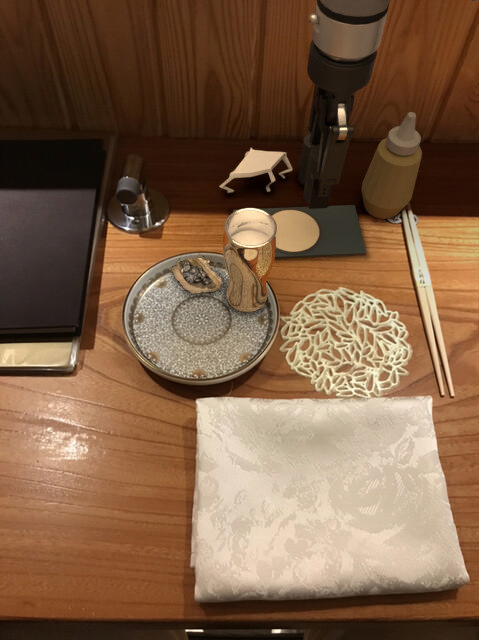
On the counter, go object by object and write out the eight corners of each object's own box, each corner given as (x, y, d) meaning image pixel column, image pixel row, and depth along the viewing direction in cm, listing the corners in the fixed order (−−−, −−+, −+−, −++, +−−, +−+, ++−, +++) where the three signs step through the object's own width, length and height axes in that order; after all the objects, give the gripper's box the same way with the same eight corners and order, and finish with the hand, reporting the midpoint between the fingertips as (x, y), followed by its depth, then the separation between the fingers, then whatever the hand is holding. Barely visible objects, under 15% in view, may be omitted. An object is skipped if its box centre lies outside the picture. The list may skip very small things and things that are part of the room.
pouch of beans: (189, 249, 87) (188, 241, 86) (233, 271, 85) (233, 264, 83) (163, 279, 84) (162, 271, 82) (208, 303, 82) (208, 295, 80)
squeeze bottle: (411, 198, 94) (447, 106, 79) (398, 231, 90) (433, 141, 75) (365, 182, 95) (391, 90, 80) (350, 215, 92) (374, 123, 76)
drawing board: (354, 207, 92) (355, 204, 92) (365, 255, 87) (366, 252, 87) (233, 212, 91) (233, 208, 91) (237, 260, 86) (237, 257, 86)
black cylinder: (328, 185, 84) (337, 142, 77) (332, 205, 82) (342, 163, 75) (301, 186, 84) (308, 143, 77) (305, 206, 81) (312, 164, 75)
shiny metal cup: (213, 292, 83) (211, 223, 70) (249, 268, 85) (253, 198, 73) (244, 323, 80) (247, 257, 67) (280, 297, 83) (290, 230, 70)
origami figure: (258, 154, 99) (259, 131, 94) (293, 179, 96) (296, 156, 91) (208, 189, 94) (207, 166, 90) (244, 215, 91) (244, 194, 87)
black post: (320, 170, 97) (327, 132, 90) (322, 186, 95) (330, 149, 88) (297, 170, 97) (302, 132, 90) (299, 186, 95) (304, 149, 88)
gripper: (301, 2, 67) (283, 155, 87) (322, 93, 58) (297, 240, 78) (363, 1, 67) (331, 153, 87) (393, 91, 58) (350, 238, 78)
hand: (315, 194), depth 82 cm, fingers closed on black cylinder, 4 cm apart
